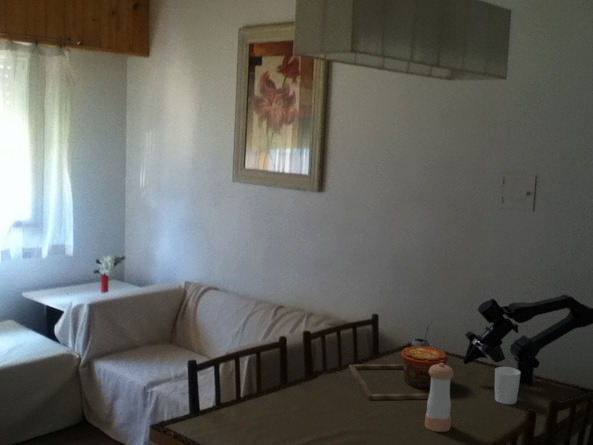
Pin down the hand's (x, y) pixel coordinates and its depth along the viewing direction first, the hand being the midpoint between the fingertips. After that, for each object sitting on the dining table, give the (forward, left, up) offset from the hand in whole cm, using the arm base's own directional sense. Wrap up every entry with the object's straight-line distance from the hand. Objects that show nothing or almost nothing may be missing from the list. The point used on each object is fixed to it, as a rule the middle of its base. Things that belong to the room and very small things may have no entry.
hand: (464, 363), depth 241 cm
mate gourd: (-12, -21, -7) cm, 25 cm away
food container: (+9, -11, -7) cm, 16 cm away
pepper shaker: (+41, +7, -7) cm, 43 cm away
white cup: (+8, +17, -7) cm, 20 cm away
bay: (+15, -18, -7) cm, 24 cm away
